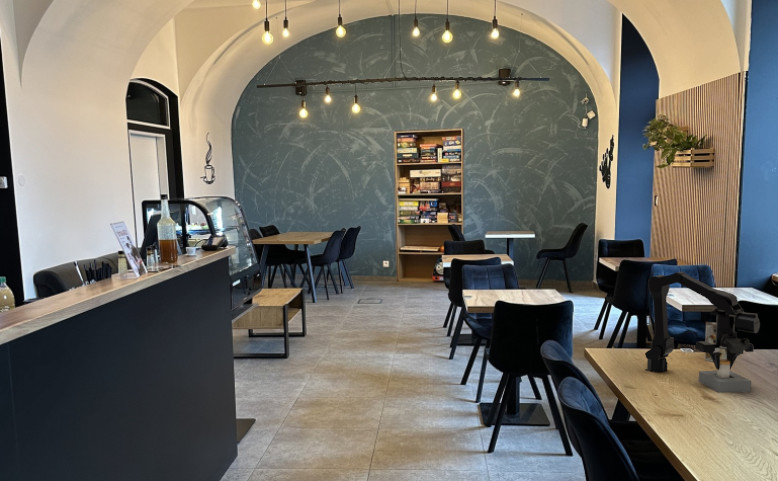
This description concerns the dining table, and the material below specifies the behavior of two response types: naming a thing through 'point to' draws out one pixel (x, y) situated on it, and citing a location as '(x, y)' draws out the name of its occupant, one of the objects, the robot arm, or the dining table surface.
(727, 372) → the plug
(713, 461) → the dining table surface
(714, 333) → the coffee box
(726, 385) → the header
